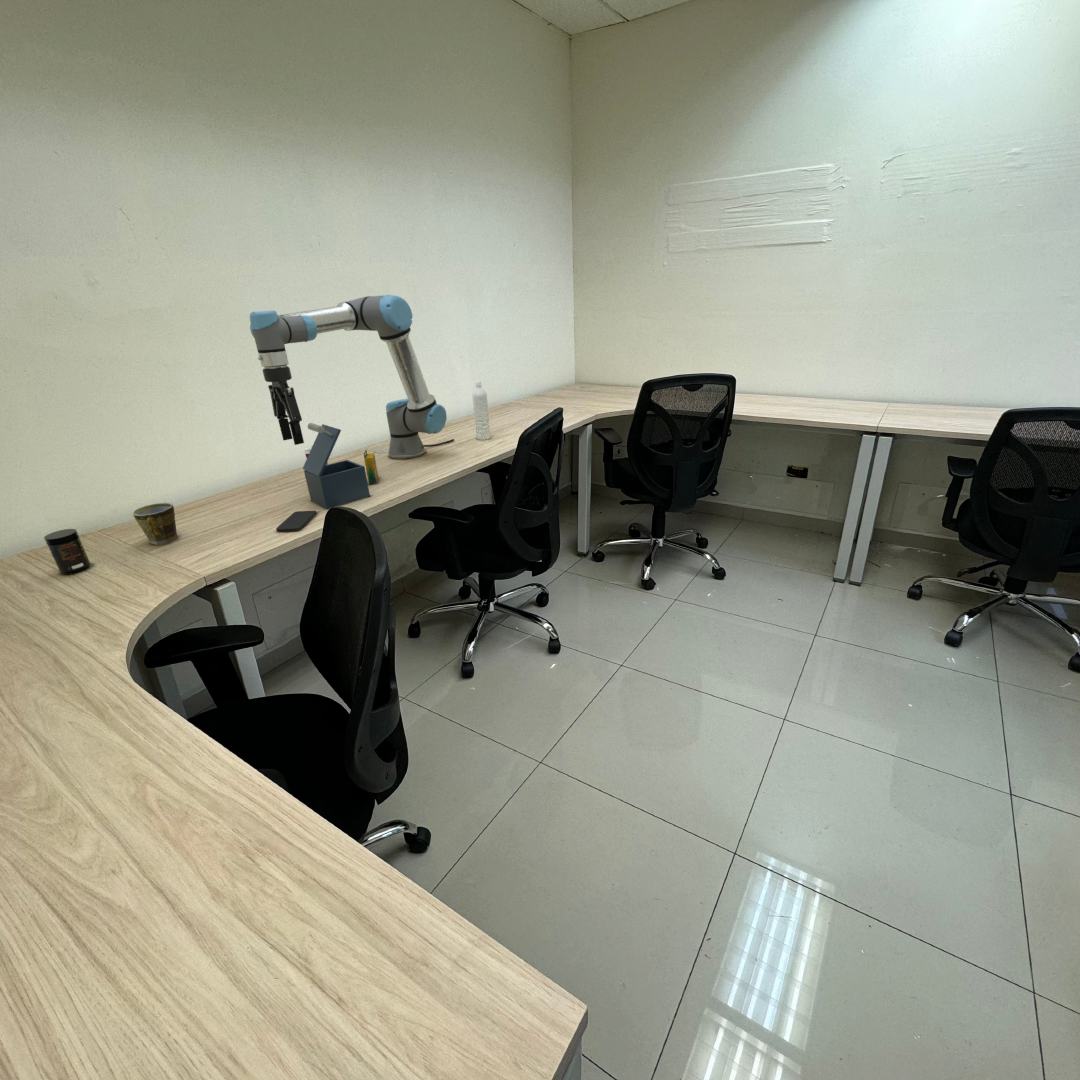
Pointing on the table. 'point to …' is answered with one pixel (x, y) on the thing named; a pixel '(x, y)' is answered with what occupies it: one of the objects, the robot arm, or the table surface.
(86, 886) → the table surface
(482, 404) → the water bottle
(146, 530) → the ceramic cup
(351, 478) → the chest
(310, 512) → the phone
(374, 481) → the crayon box
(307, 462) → the lid
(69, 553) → the supplement container
